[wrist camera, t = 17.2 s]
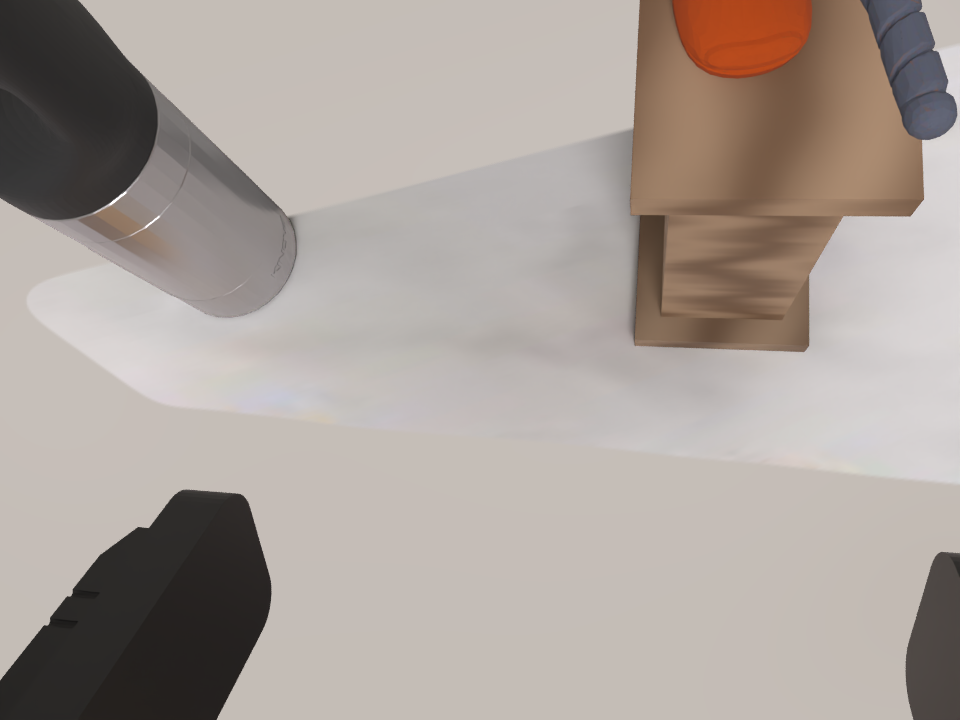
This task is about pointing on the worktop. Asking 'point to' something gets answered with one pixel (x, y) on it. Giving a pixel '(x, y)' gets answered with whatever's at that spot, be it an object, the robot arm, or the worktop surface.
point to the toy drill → (785, 29)
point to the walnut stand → (757, 178)
